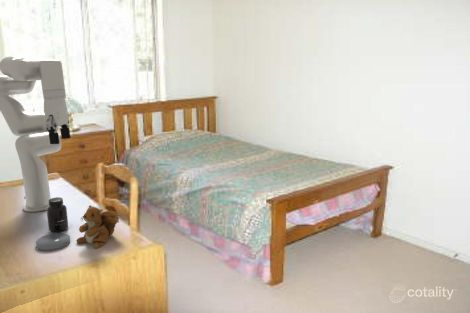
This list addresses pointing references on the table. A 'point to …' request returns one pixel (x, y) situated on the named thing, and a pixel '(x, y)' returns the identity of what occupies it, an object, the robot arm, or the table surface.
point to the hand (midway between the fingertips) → (60, 141)
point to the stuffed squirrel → (97, 226)
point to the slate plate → (52, 241)
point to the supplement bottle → (57, 215)
